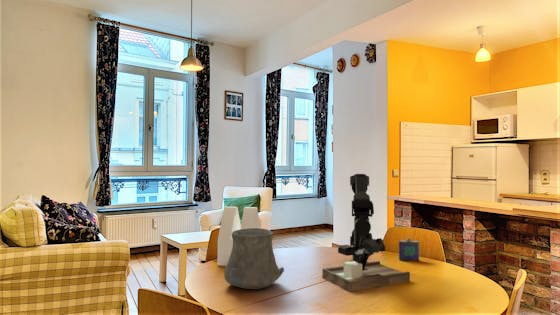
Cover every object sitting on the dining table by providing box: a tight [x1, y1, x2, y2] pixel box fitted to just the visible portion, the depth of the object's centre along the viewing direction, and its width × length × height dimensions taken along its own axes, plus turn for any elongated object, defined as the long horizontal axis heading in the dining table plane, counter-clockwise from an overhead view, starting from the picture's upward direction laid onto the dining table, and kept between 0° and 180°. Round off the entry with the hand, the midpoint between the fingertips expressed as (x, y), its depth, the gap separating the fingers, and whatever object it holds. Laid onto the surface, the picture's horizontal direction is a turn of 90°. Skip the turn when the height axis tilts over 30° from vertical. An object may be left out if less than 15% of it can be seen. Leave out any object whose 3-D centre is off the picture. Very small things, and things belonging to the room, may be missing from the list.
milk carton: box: [217, 206, 262, 267], centre depth 171 cm, size 19×15×25 cm
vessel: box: [223, 228, 285, 290], centre depth 136 cm, size 22×22×20 cm
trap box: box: [321, 260, 411, 293], centre depth 143 cm, size 18×28×4 cm, turn 115°
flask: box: [398, 237, 420, 262], centre depth 172 cm, size 9×3×11 cm, turn 87°
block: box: [343, 260, 362, 278], centre depth 140 cm, size 5×5×4 cm
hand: (362, 270), depth 142 cm, fingers closed
